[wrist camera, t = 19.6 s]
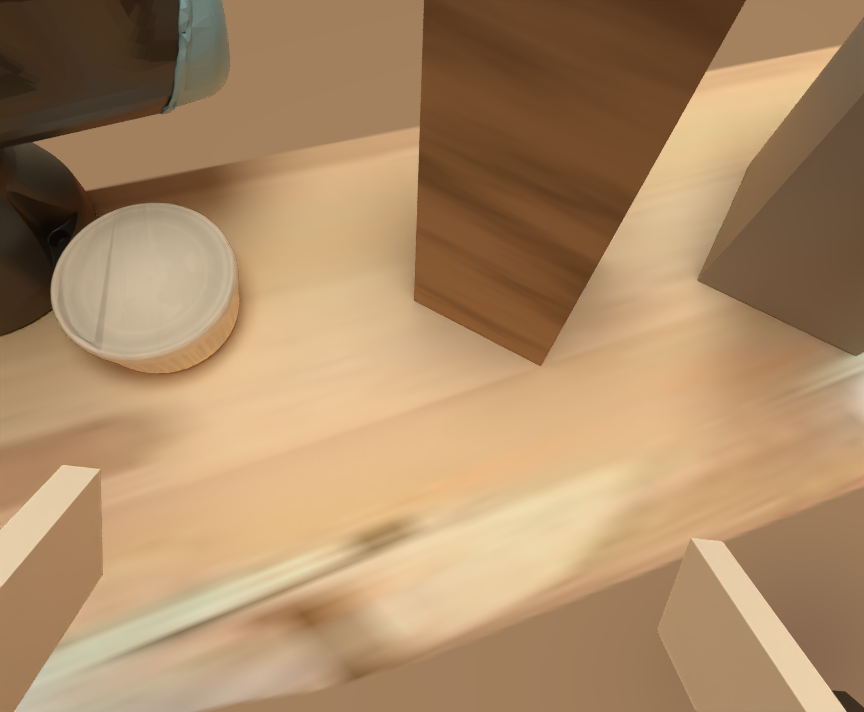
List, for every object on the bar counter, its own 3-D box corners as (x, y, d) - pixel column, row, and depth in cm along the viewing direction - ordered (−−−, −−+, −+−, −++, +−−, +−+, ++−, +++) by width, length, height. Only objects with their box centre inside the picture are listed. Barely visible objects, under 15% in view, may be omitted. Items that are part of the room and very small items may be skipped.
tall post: (478, 198, 49) (577, -341, 21) (598, 256, 48) (871, -241, 20) (414, 300, 46) (430, -182, 18) (540, 366, 44) (772, -48, 16)
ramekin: (59, 295, 45) (17, 256, 40) (202, 216, 48) (179, 171, 43) (135, 420, 42) (99, 395, 37) (283, 329, 45) (268, 294, 40)
